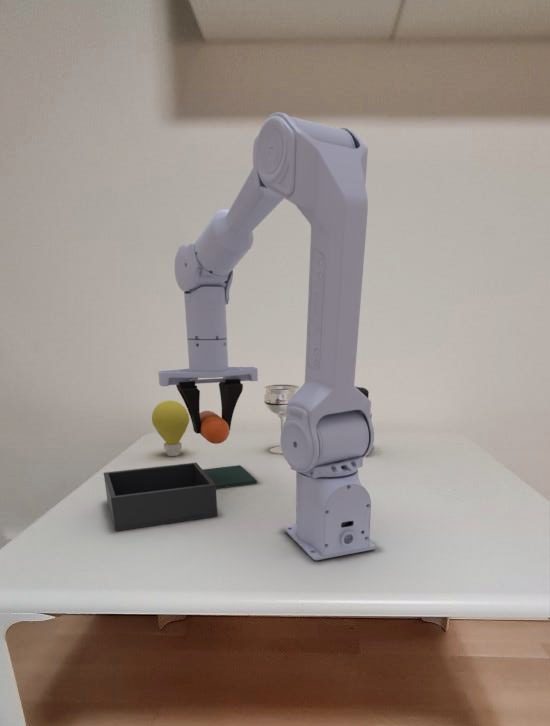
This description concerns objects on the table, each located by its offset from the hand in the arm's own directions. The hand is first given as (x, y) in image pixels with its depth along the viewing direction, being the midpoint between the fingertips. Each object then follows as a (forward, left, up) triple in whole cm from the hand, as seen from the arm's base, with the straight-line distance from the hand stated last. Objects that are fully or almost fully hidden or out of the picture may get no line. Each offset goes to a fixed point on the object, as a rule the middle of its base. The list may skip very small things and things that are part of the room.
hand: (212, 430), depth 84 cm
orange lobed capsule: (0, 0, -1) cm, 1 cm away
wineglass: (+14, -17, -8) cm, 23 cm away
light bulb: (+19, +3, -8) cm, 21 cm away
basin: (-9, +10, -8) cm, 16 cm away
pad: (+1, -1, -8) cm, 9 cm away
